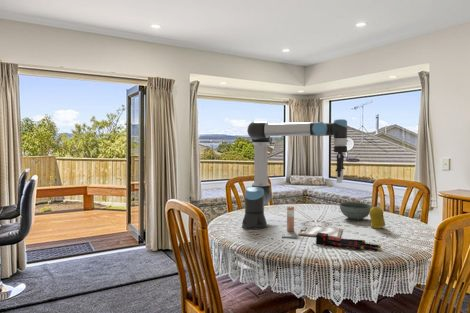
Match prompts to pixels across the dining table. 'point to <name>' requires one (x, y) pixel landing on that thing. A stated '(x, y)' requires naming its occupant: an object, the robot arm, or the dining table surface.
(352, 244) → the toy
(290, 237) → the grey striped tile
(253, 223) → the robot arm
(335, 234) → the clipboard
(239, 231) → the dining table surface
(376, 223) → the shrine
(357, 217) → the bowl
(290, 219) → the pastel stick
